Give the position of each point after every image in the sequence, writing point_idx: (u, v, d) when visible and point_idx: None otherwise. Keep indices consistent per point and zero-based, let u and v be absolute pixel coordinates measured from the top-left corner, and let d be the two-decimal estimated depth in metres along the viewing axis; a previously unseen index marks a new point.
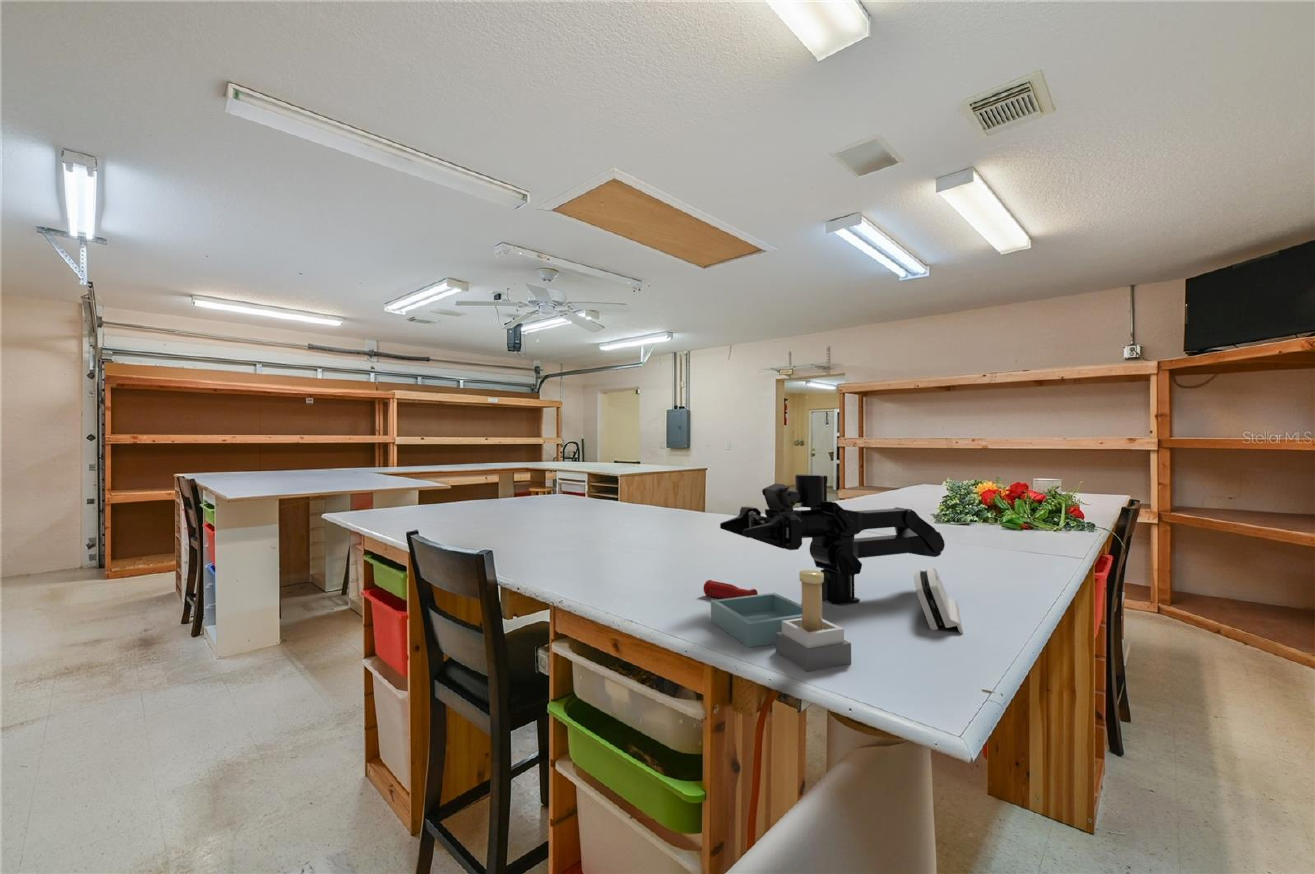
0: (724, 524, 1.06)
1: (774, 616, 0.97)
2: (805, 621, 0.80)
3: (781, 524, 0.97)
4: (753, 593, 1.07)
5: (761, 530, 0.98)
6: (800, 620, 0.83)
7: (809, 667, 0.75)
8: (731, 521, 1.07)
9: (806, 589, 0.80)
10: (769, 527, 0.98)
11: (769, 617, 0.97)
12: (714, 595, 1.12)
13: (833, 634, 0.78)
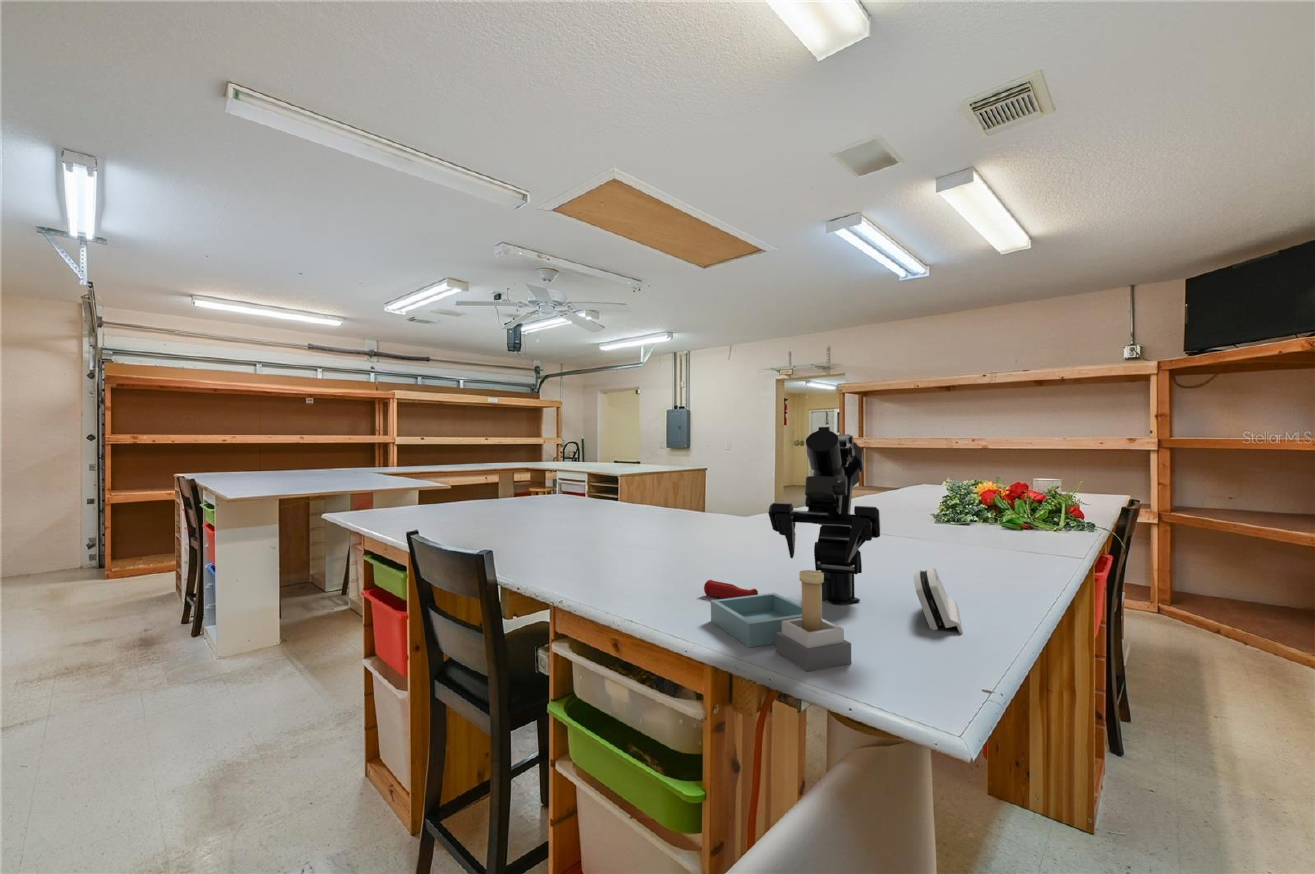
0: (792, 552, 0.90)
1: (774, 616, 0.97)
2: (805, 621, 0.80)
3: (867, 525, 0.88)
4: (753, 593, 1.07)
5: (855, 544, 0.87)
6: (800, 620, 0.83)
7: (809, 667, 0.75)
8: (792, 542, 0.91)
9: (807, 589, 0.80)
10: None
11: (769, 617, 0.97)
12: (714, 595, 1.12)
13: (833, 634, 0.78)
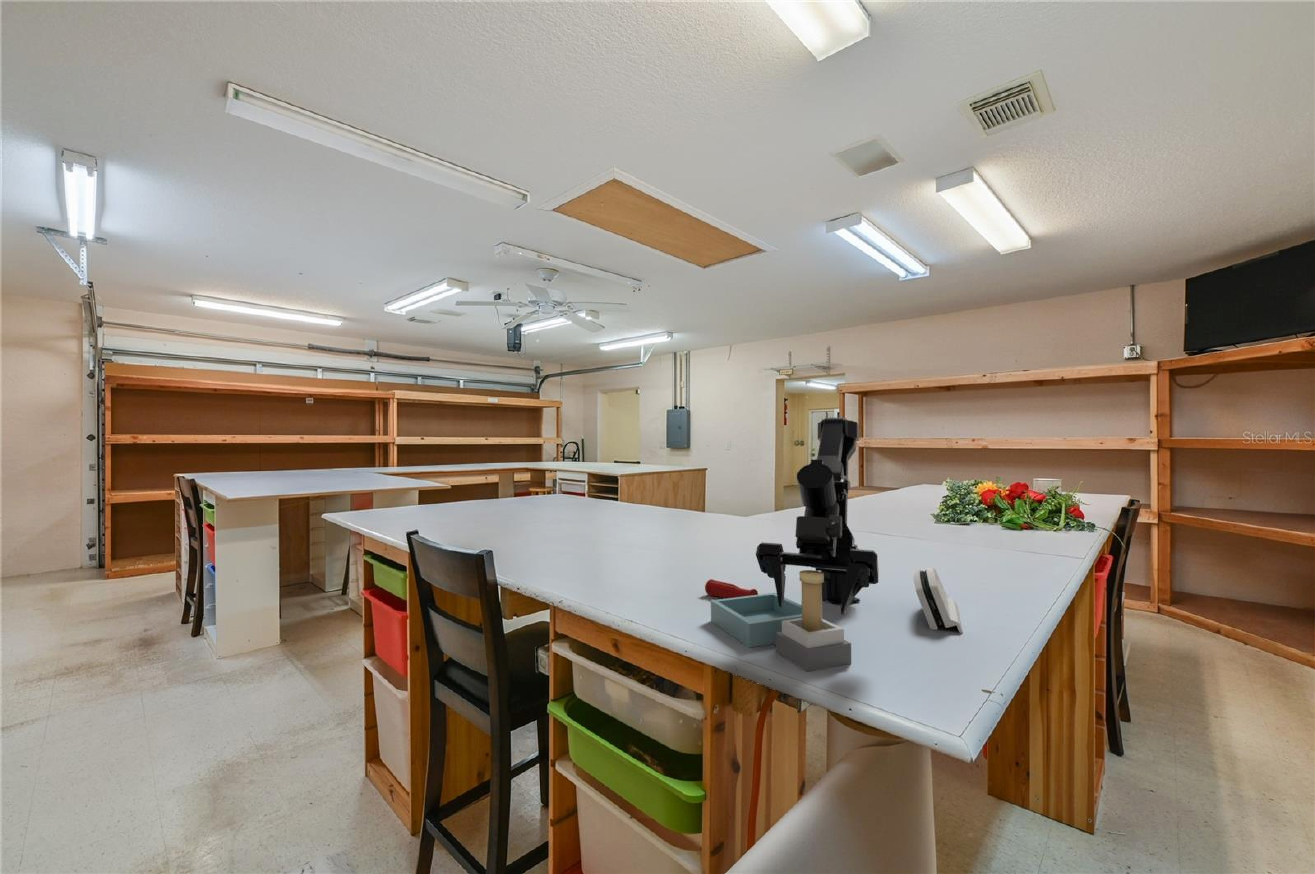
0: (782, 600, 0.82)
1: (774, 616, 0.97)
2: (805, 621, 0.80)
3: (864, 572, 0.79)
4: (753, 593, 1.07)
5: (851, 593, 0.79)
6: (800, 620, 0.83)
7: (809, 667, 0.75)
8: (781, 588, 0.83)
9: (807, 589, 0.80)
10: None
11: (769, 617, 0.97)
12: (715, 594, 1.13)
13: (833, 634, 0.78)
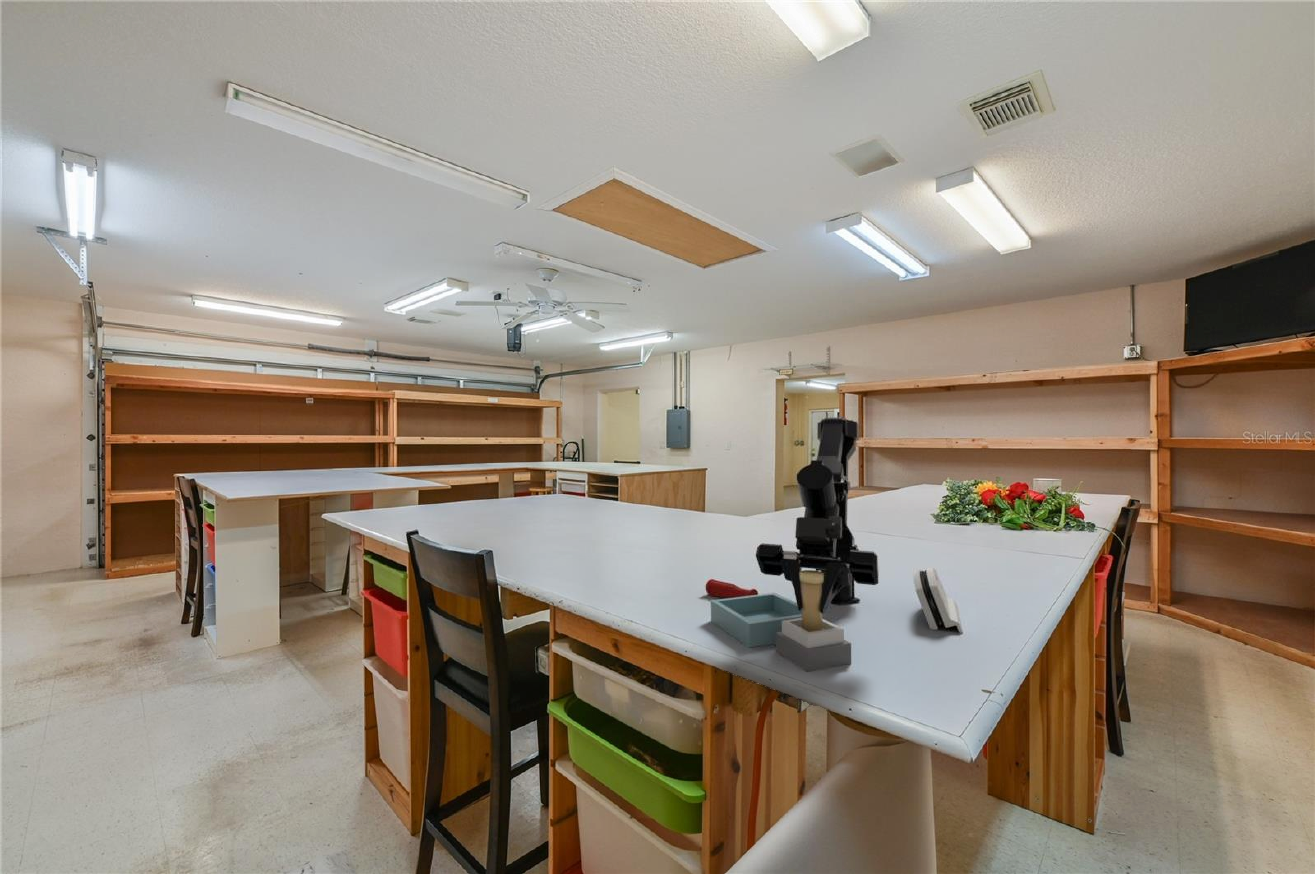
0: (801, 603, 0.80)
1: (774, 616, 0.97)
2: (805, 621, 0.80)
3: (843, 571, 0.81)
4: (753, 593, 1.07)
5: (830, 592, 0.80)
6: (800, 620, 0.83)
7: (809, 667, 0.75)
8: (800, 592, 0.81)
9: (806, 589, 0.80)
10: None
11: (769, 617, 0.97)
12: (715, 594, 1.13)
13: (833, 634, 0.78)
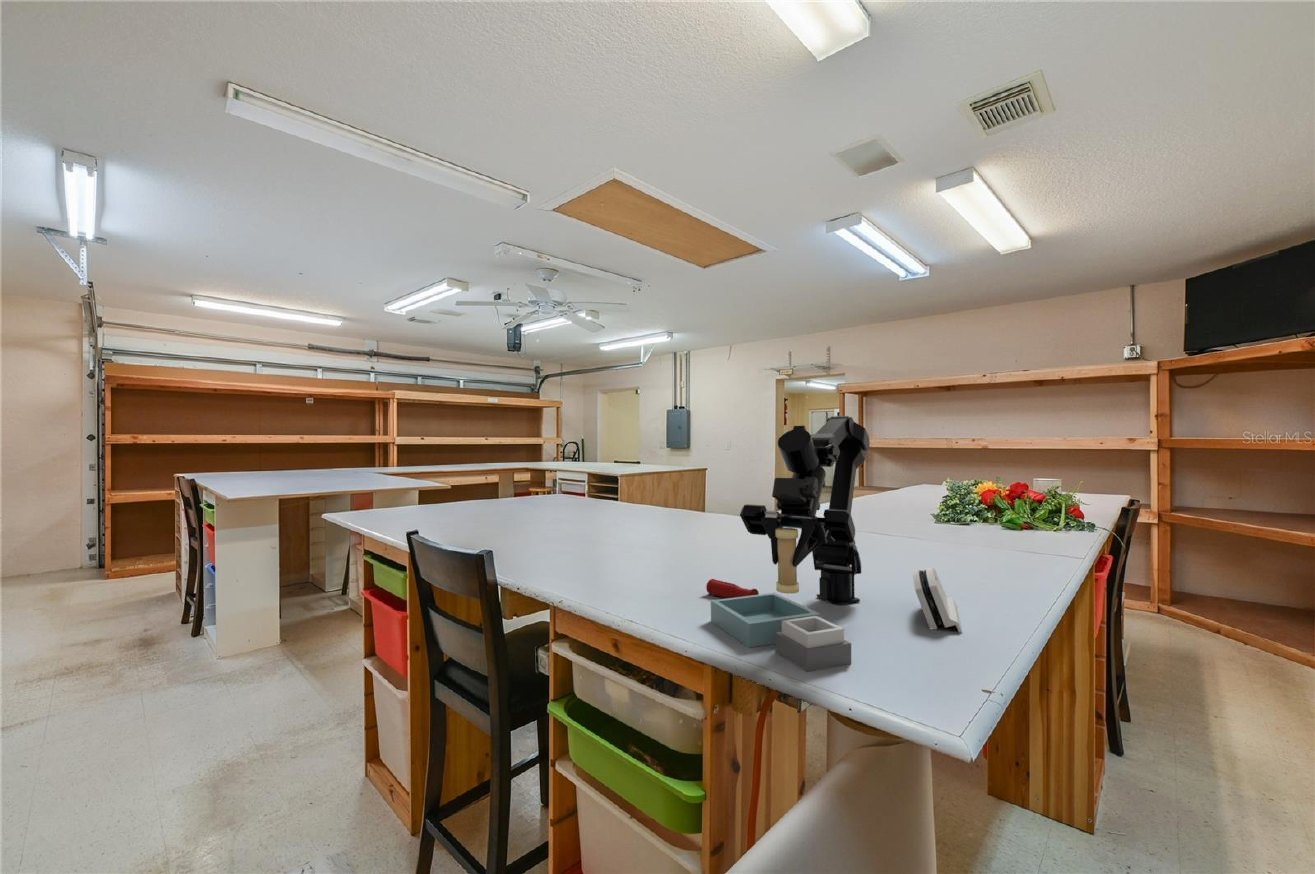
0: (776, 558, 0.86)
1: (774, 616, 0.97)
2: (779, 574, 0.85)
3: (818, 528, 0.85)
4: (753, 593, 1.07)
5: (804, 547, 0.85)
6: (800, 620, 0.83)
7: (809, 667, 0.75)
8: (777, 547, 0.86)
9: (781, 545, 0.85)
10: None
11: (769, 617, 0.97)
12: (716, 594, 1.13)
13: (833, 634, 0.78)
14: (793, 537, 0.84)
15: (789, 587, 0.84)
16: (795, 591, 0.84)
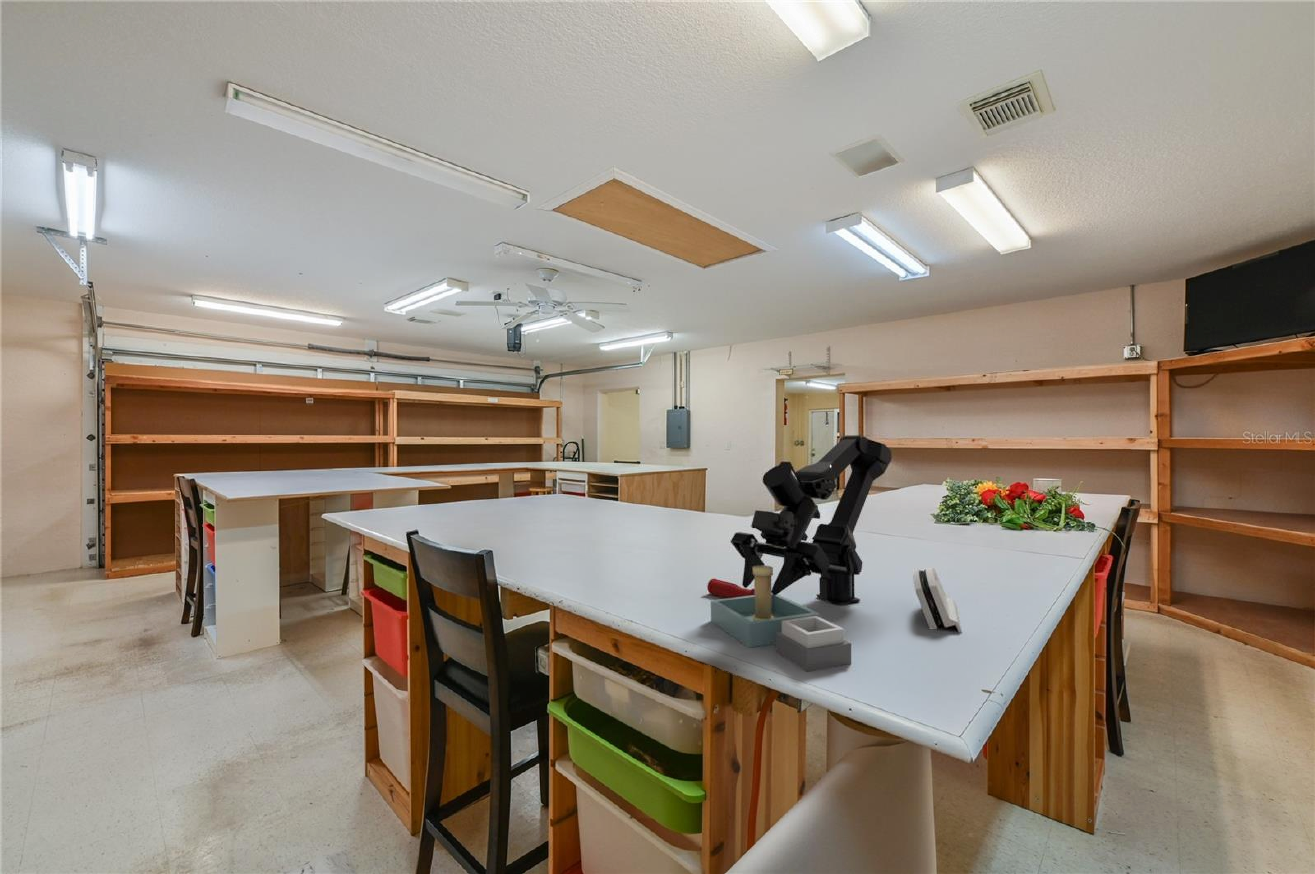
0: (746, 582, 0.95)
1: (774, 616, 0.97)
2: (755, 608, 0.93)
3: (798, 560, 0.91)
4: (753, 593, 1.07)
5: (784, 577, 0.91)
6: (800, 620, 0.83)
7: (809, 667, 0.75)
8: (748, 572, 0.96)
9: (755, 581, 0.93)
10: (789, 570, 0.91)
11: None
12: (717, 593, 1.13)
13: (833, 634, 0.78)
14: (766, 575, 0.92)
15: None
16: None
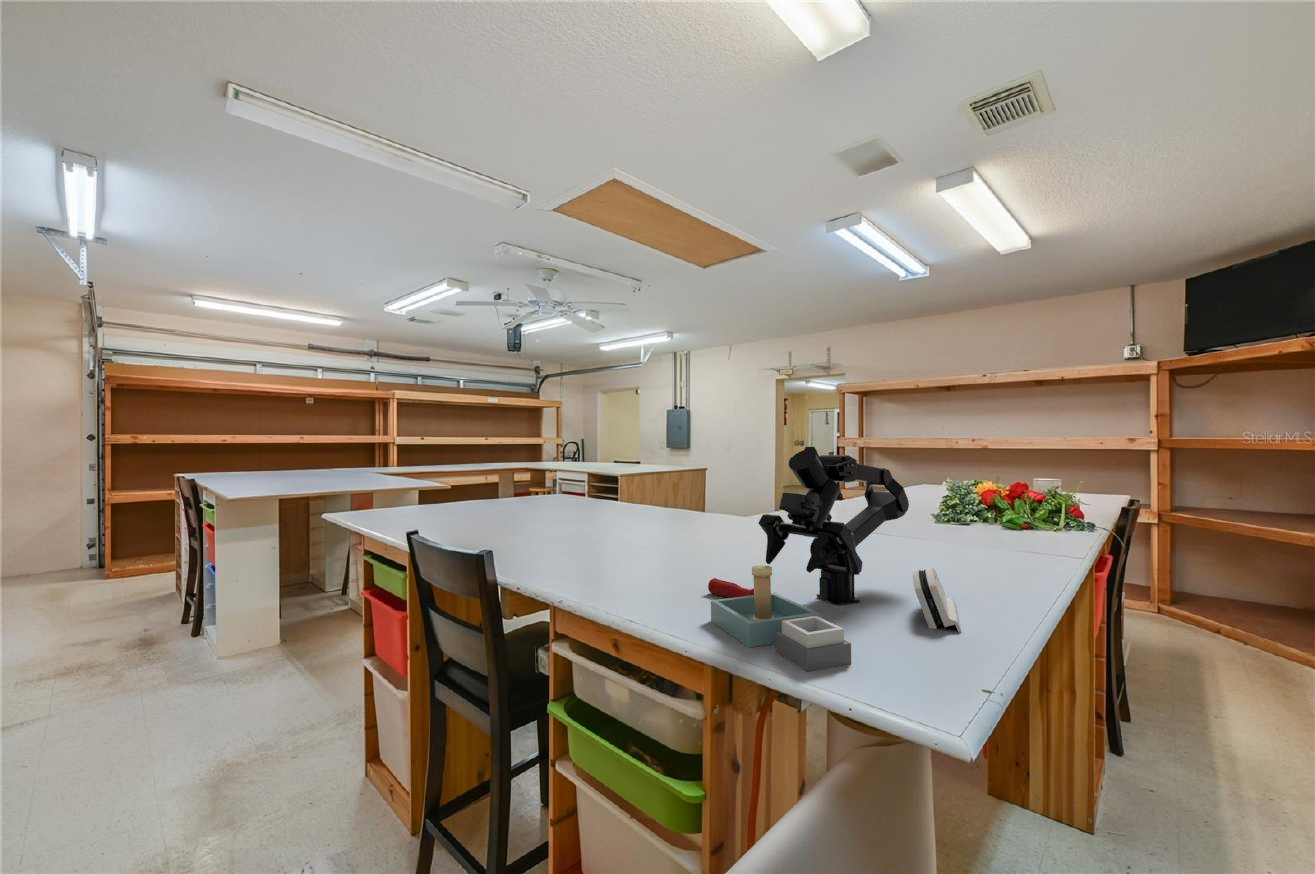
0: (769, 559, 1.03)
1: (774, 616, 0.97)
2: (755, 608, 0.93)
3: (831, 539, 0.96)
4: (753, 593, 1.08)
5: (818, 556, 0.96)
6: (800, 620, 0.83)
7: (809, 667, 0.75)
8: (771, 550, 1.03)
9: (755, 581, 0.93)
10: (823, 548, 0.96)
11: None
12: (717, 593, 1.13)
13: (833, 634, 0.78)
14: (765, 575, 0.92)
15: None
16: None
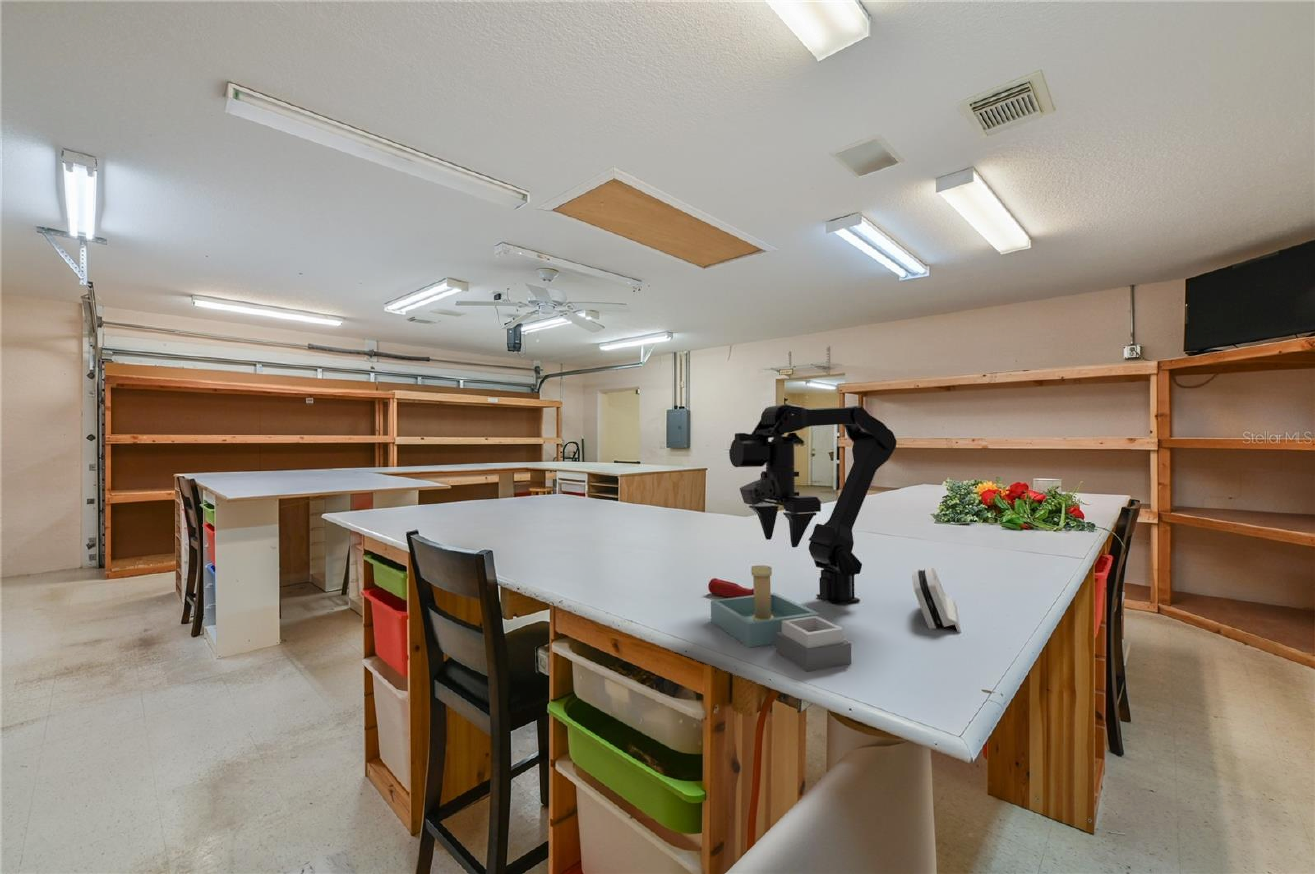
0: (767, 536, 1.10)
1: (774, 616, 0.97)
2: (754, 609, 0.93)
3: None
4: None
5: (795, 531, 1.00)
6: (800, 620, 0.83)
7: (809, 667, 0.75)
8: (765, 527, 1.10)
9: (755, 581, 0.93)
10: (795, 524, 1.00)
11: None
12: (718, 593, 1.14)
13: (833, 634, 0.78)
14: (765, 575, 0.92)
15: None
16: None
